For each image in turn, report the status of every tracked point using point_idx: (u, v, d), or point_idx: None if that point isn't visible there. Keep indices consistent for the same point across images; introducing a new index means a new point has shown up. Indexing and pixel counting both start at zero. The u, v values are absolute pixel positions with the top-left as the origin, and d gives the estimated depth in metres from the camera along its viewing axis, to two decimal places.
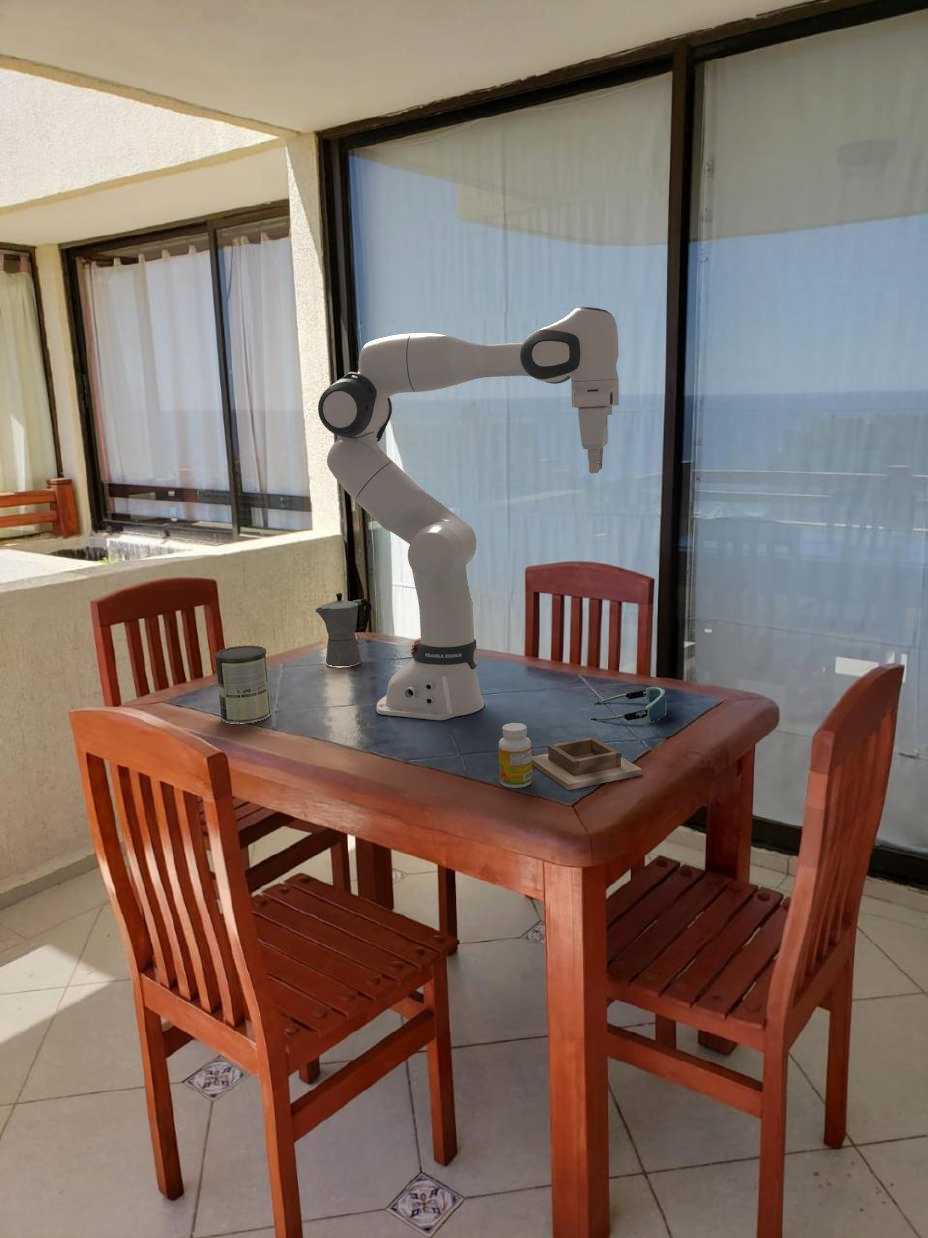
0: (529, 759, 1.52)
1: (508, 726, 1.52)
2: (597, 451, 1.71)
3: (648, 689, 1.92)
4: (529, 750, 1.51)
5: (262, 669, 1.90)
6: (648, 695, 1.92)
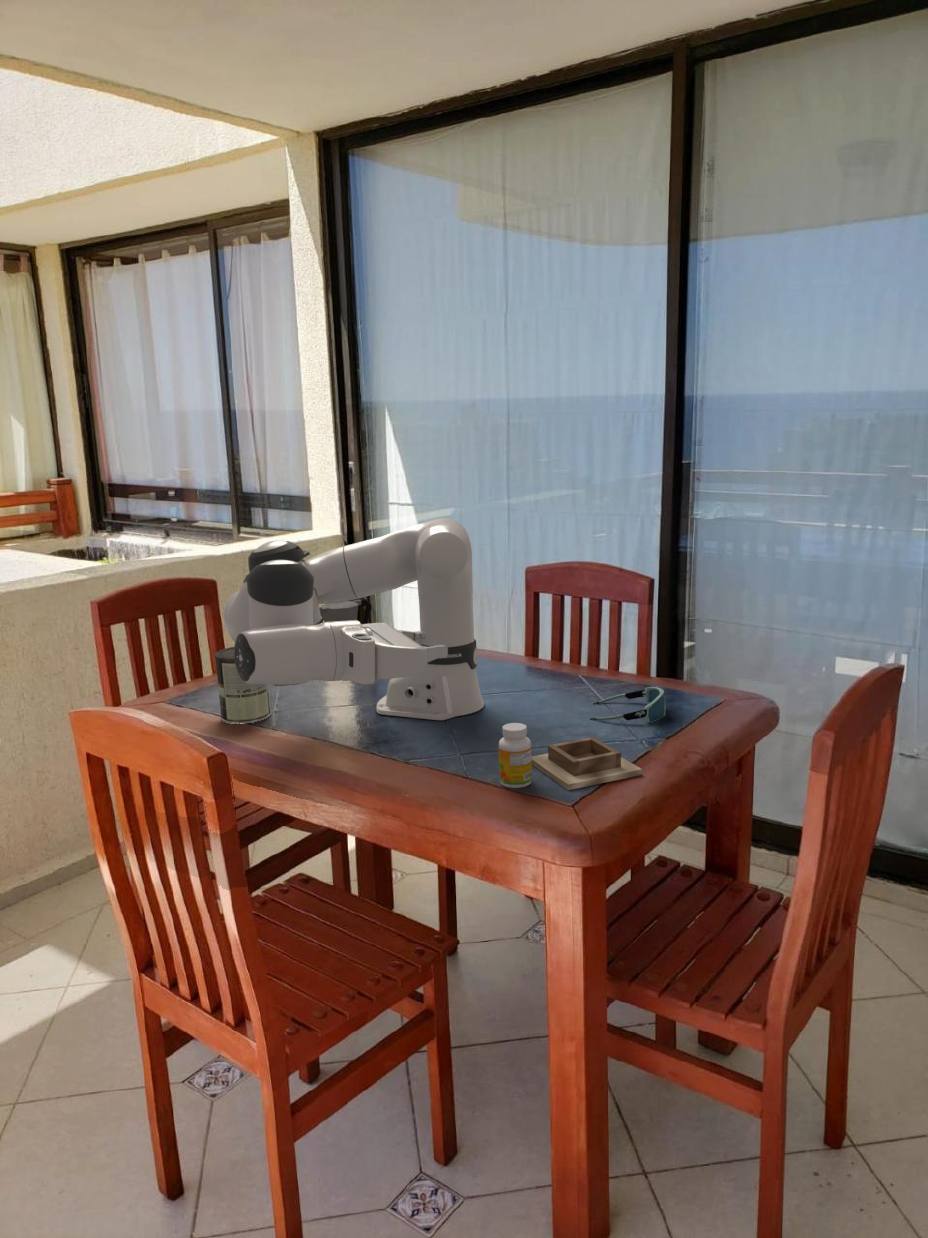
0: (529, 759, 1.52)
1: (508, 726, 1.52)
2: None
3: (647, 689, 1.92)
4: (529, 750, 1.51)
5: None
6: (647, 695, 1.92)
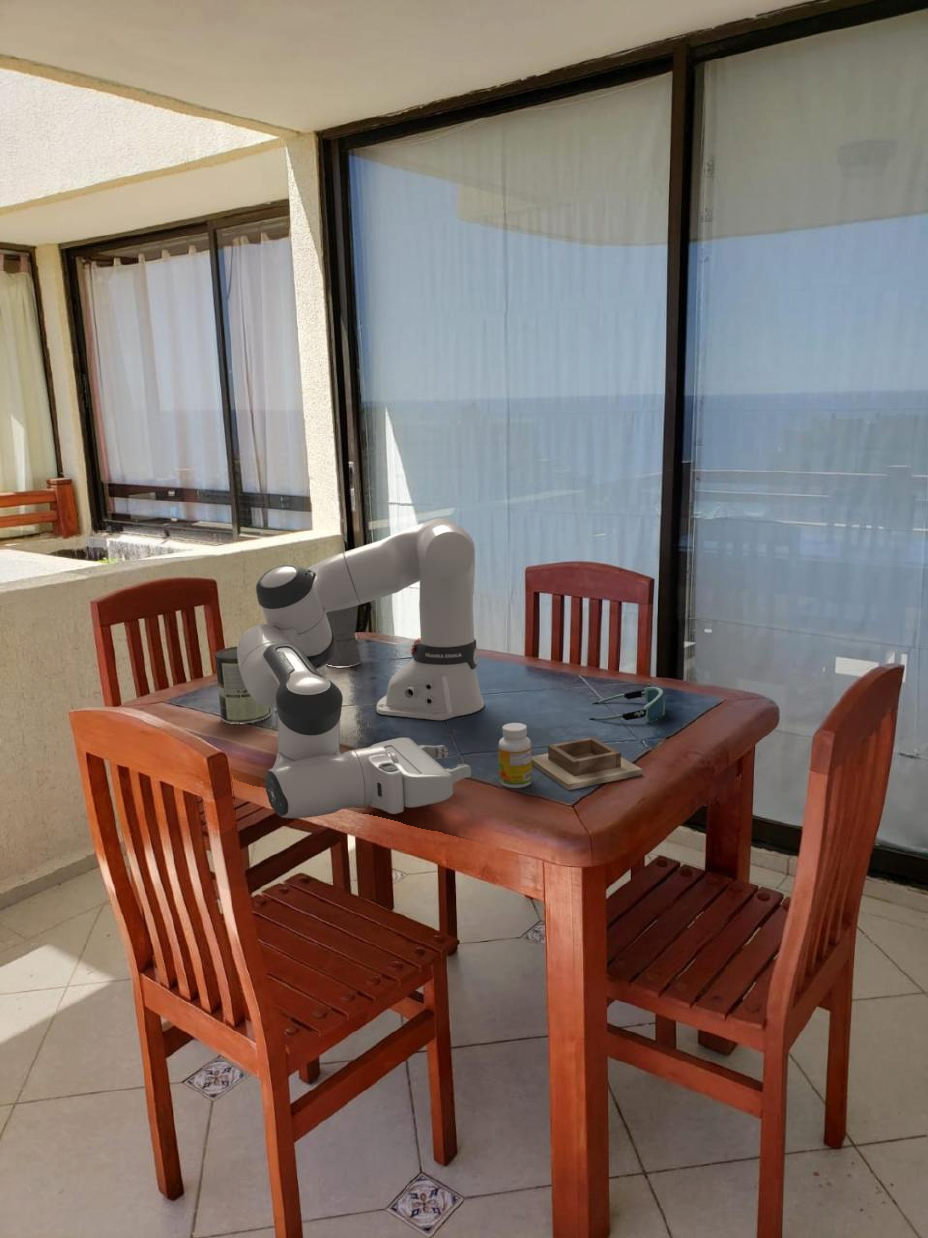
0: (529, 759, 1.52)
1: (508, 726, 1.52)
2: (449, 773, 1.41)
3: (646, 689, 1.92)
4: (529, 750, 1.51)
5: None
6: (646, 695, 1.93)
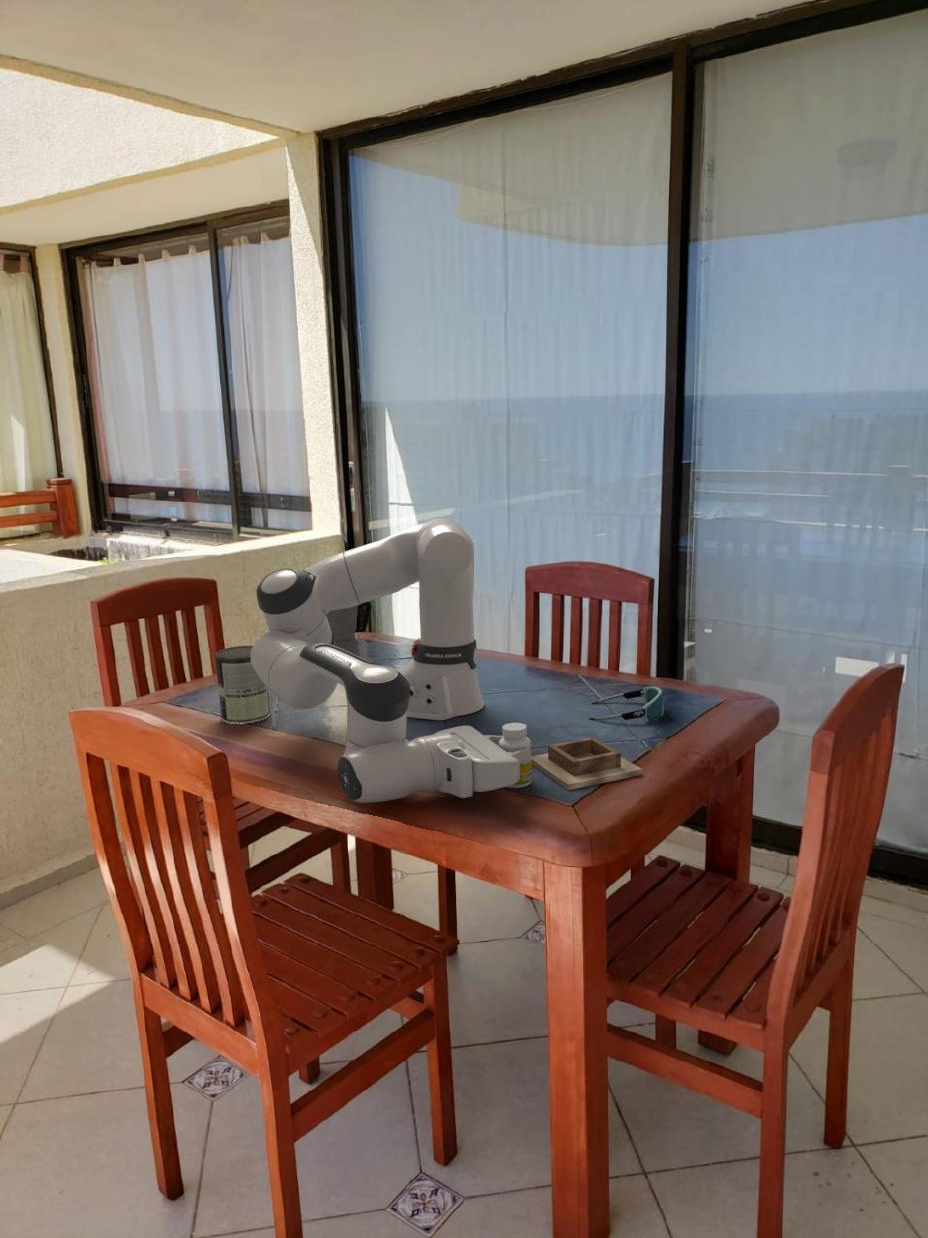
0: None
1: (508, 726, 1.52)
2: None
3: (645, 689, 1.92)
4: None
5: None
6: (645, 695, 1.93)
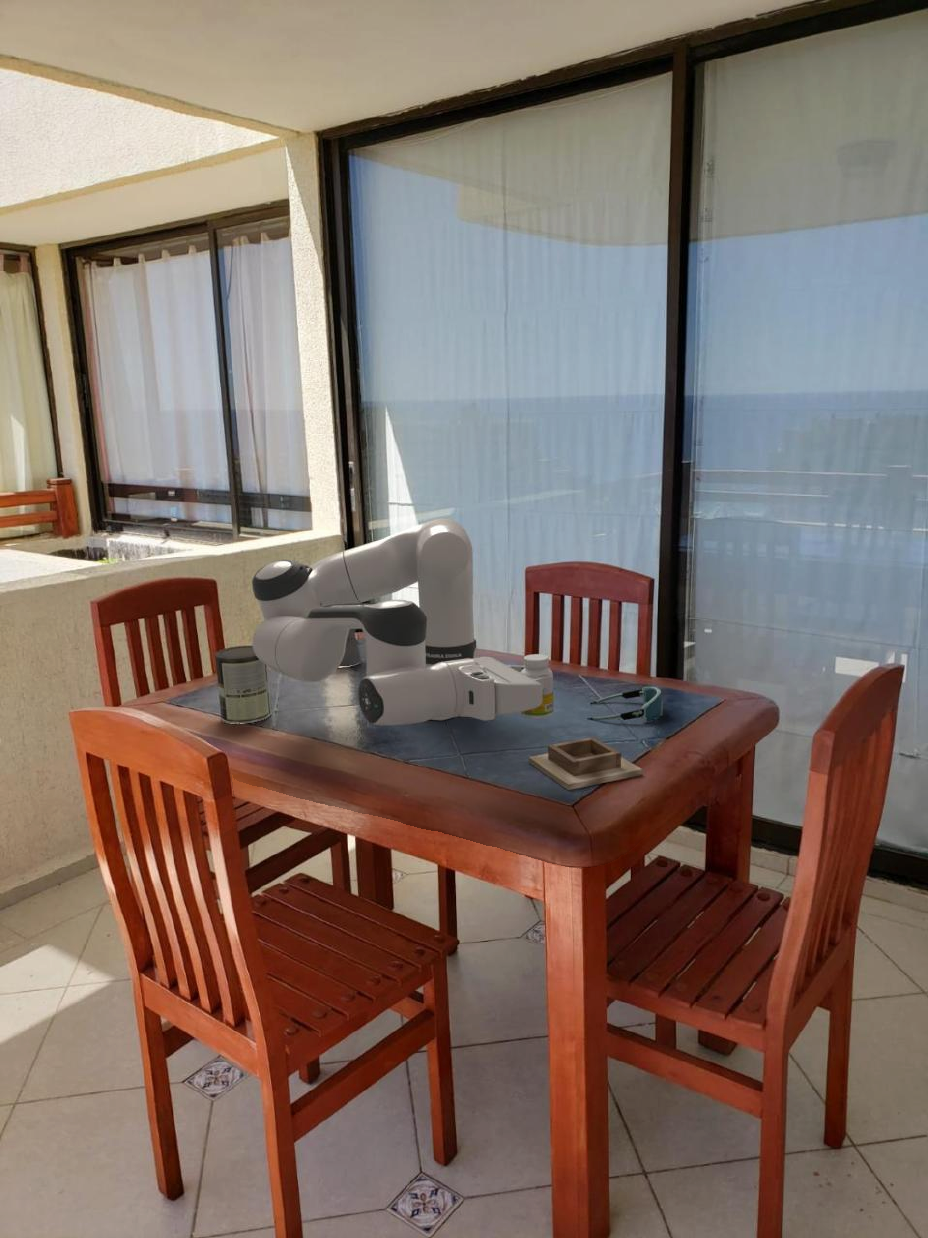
0: (551, 690, 1.50)
1: (530, 657, 1.51)
2: None
3: (644, 689, 1.92)
4: None
5: (263, 669, 1.90)
6: (644, 694, 1.93)
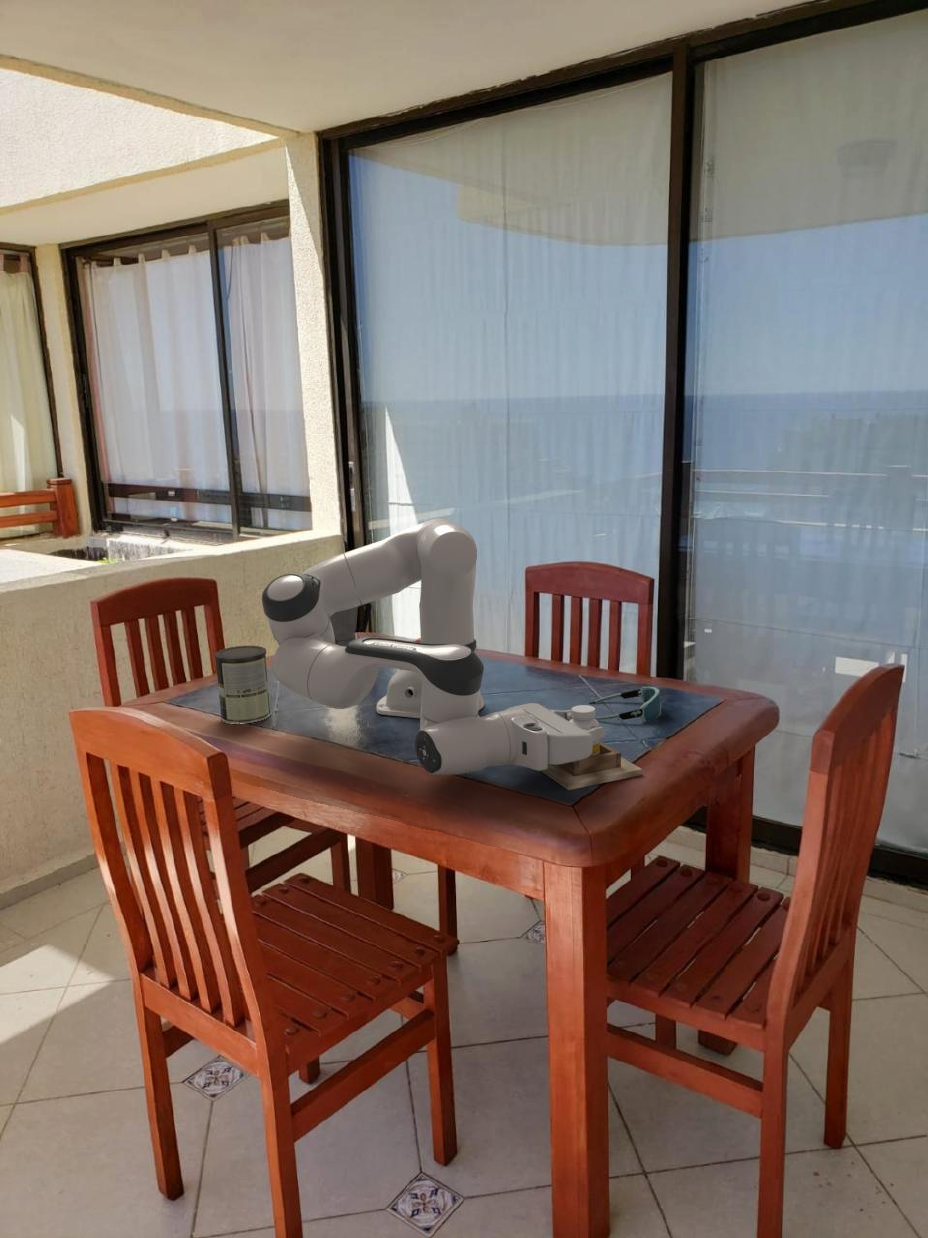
0: (597, 740, 1.56)
1: (577, 708, 1.57)
2: None
3: (643, 689, 1.92)
4: None
5: (263, 669, 1.90)
6: (643, 694, 1.93)
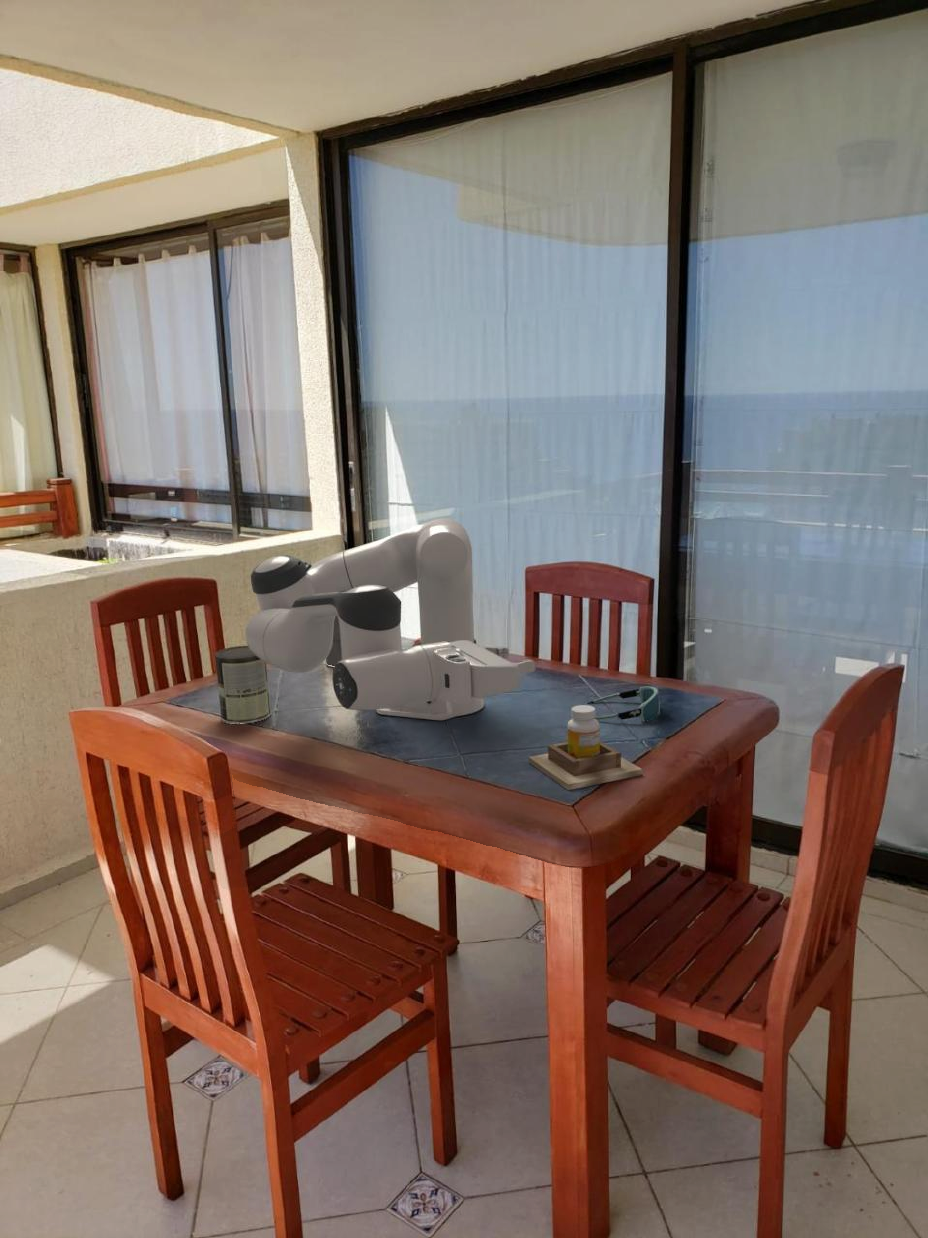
0: (597, 740, 1.56)
1: (577, 708, 1.57)
2: None
3: (641, 688, 1.92)
4: (597, 731, 1.56)
5: (262, 669, 1.90)
6: (641, 694, 1.93)
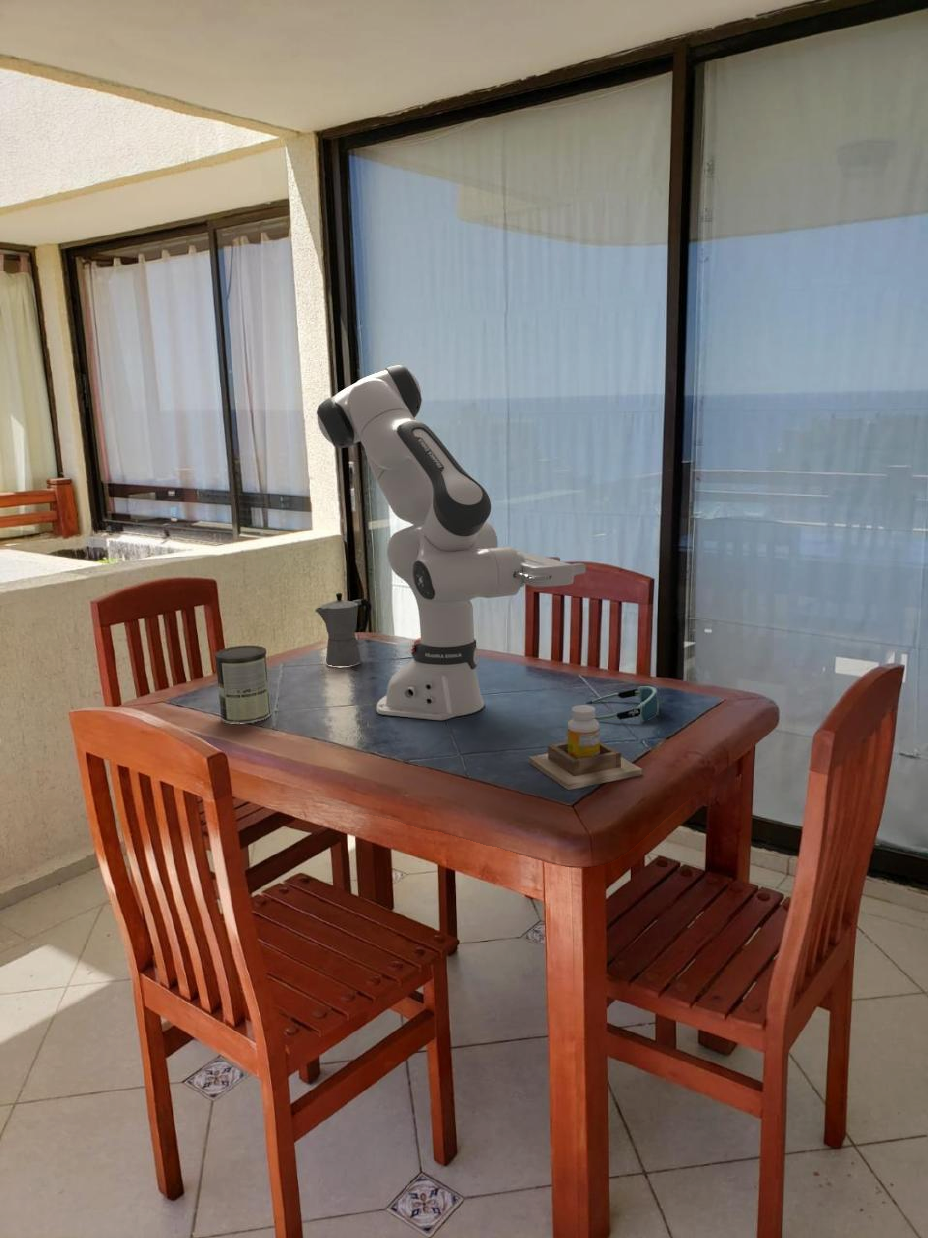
0: (597, 740, 1.56)
1: (577, 708, 1.57)
2: None
3: (640, 688, 1.93)
4: (597, 731, 1.56)
5: (262, 669, 1.90)
6: (640, 694, 1.93)
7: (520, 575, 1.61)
